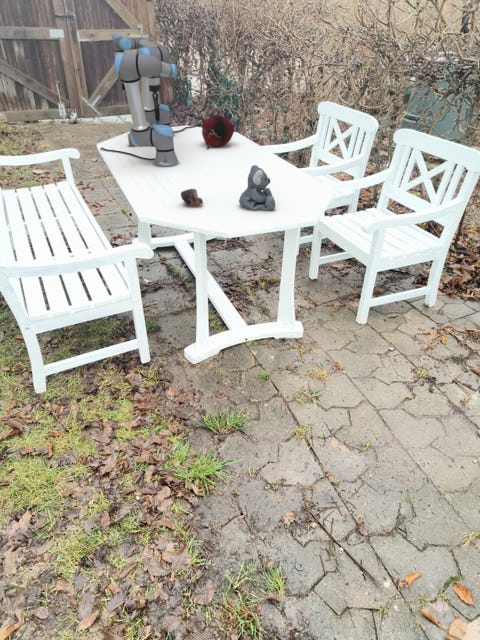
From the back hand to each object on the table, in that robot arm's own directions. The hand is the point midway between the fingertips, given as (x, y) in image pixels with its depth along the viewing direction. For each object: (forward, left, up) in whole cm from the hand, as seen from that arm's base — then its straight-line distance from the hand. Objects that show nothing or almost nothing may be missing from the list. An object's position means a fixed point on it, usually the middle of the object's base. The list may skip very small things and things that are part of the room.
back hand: (124, 88), depth 359 cm
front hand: (+34, +61, -11) cm, 71 cm away
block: (+38, +37, -32) cm, 61 cm away
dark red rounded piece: (+6, +92, -32) cm, 97 cm away
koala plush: (+103, +178, -32) cm, 208 cm away
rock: (+118, +148, -32) cm, 192 cm away
